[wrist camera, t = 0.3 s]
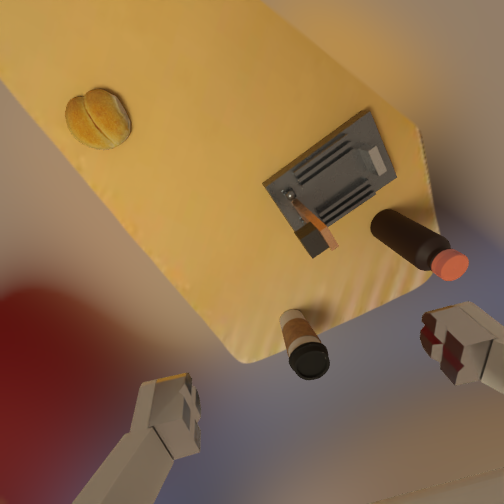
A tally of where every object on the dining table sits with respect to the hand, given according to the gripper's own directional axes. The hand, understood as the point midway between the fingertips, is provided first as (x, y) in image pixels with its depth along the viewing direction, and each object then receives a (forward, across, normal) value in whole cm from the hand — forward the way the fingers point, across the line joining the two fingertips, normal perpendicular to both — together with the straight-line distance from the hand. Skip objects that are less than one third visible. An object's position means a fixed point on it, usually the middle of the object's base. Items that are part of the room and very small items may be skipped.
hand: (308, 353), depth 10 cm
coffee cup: (+47, -6, +43) cm, 64 cm away
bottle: (+49, -30, +24) cm, 62 cm away
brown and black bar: (+44, -9, +14) cm, 48 cm away
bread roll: (+48, +18, -8) cm, 52 cm away
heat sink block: (+48, -18, +10) cm, 53 cm away
